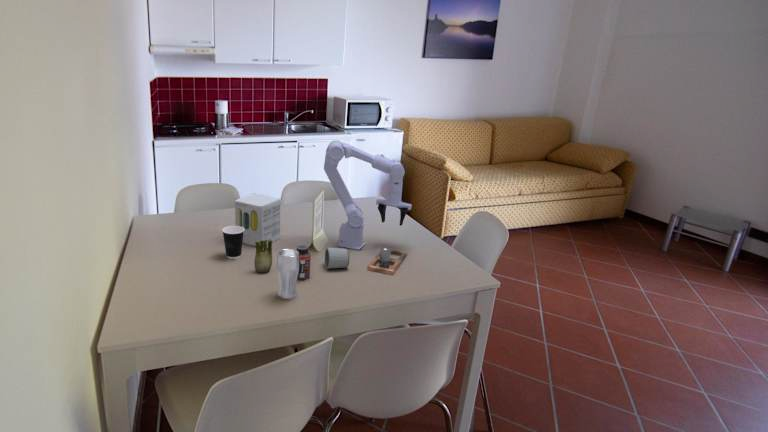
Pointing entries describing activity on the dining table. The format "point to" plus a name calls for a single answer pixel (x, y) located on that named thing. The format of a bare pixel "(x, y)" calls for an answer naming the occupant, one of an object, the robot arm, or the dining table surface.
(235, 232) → the dixie cup
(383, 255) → the metal peg
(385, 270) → the rail
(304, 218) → the dining table surface
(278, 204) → the supplement box
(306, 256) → the supplement bottle
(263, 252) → the fennel bulb
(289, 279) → the silver beverage can
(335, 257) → the ceramic mug
